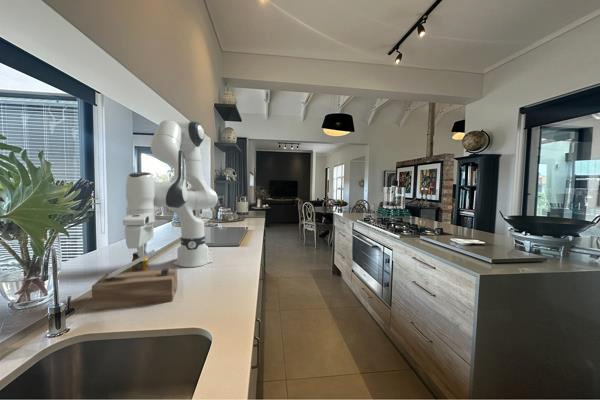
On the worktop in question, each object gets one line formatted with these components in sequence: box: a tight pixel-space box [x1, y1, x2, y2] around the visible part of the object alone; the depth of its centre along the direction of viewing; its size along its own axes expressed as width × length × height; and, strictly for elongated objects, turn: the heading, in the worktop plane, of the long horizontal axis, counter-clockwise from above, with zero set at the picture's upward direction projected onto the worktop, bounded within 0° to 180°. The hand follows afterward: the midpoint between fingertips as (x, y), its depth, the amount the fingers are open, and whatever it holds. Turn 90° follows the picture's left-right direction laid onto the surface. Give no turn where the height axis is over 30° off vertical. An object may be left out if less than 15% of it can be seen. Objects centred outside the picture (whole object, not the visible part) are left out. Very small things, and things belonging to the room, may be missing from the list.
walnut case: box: [91, 267, 178, 310], centre depth 97 cm, size 12×24×10 cm, turn 107°
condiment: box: [131, 251, 149, 272], centre depth 113 cm, size 7×8×12 cm
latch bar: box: [105, 249, 156, 280], centre depth 95 cm, size 4×17×1 cm, turn 107°
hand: (142, 255), depth 96 cm, fingers closed
